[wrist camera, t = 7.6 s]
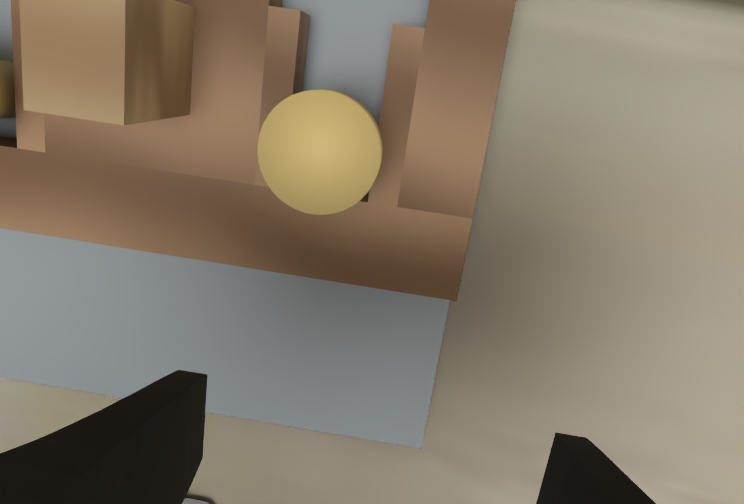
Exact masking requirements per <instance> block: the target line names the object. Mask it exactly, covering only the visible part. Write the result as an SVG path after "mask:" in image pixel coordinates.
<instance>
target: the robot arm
mask: <svg viewBox="0 0 744 504" xmlns="http://www.w3.org/2000/svg"><path fill="white" fill-rule="evenodd" d="M206 391H207V374H202V373H196V372H190V371H184V370H177V371H175V372H173V373H171V374H169V375H167V376H165V377H163V378H161V379H159V380H157V381H155V382H153V383H151V384H150V385H148V386H146V387H144V388H142V389H140V390H138V391H137V392H135V393H133V394H131V395H129V396H127V397H125V398H123V399H121V400H119V401H118V402H116V403H114V404H112V405H110V406H108V407H106V408H104V409H102V410H100V411H98V412H96V413H94V414H92V415H90V416H88V417H85V418H83V419H81V420H79V421H77V422H75V423H73V424H71V425H68V426H66V427H64V428H62V429H60V430H58V431H56V432H54V433H51V434H49V435H47V436H44V437H42V438H39V439H37V440H35V441H32V442H30V443H27V444H25V445H22V446H19V447H17V448H14V449H11V450H9V451H6V452H3V453H1V454H0V504H209V503H208V502H205V501H200V500H195V499H189V498H185V497H186V495H187V492H188V490H189V488H190V486H191V484H192V481H193V479H194V477H195V474H196V472H197V470H198V467H199V465H200V463H201V460H202V456H203V440H204V423H205V407H206ZM536 504H656V503H655V502H654V501H653V500H651V499H650V498H649V497H648V496H647V495H646V494H645V493H644V492H643V491H642V490H641V489H640V488H639V487H638V486H637V485H636V484H635V483H634V482H633V481H632V480H631V479H630V478H629V477H628V476H626V475H625V474H624V473H623V472H622V471H621V470H620V469H619V468H618V467H617V466H616V465H615V464H614V463H613V462H612V461H611V460H610V459H609V458H608V457H607V456H606V455H605V454H604V453H603V452H602V451H601V450H600V449H598V448H597V447H596V446H595V445H594V444H593V443H592V442H591V441H589V440H588V439H587V438H584V437H578V436H572V435H566V434H561V433H556V434H555V437H554V441H553V445H552V448H551V452H550V456H549V459H548V463H547V467H546V470H545V474H544V478H543V481H542V485H541V489H540V492H539V496H538V500H537V503H536Z"/></svg>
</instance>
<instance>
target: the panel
mask: <svg viewBox="0 0 744 504" xmlns="http://www.w3.org/2000/svg"><path fill="white" fill-rule="evenodd" d="M515 2H516V0H429V6H428V13H427V19H426V25H425V28H420V27H413V26H406V25H399V24H393V26H392V33H391V40H390V47H389V55H388V62H387V69H386V76H385V83H384V90H383V97H382V104H381V112H380V119H379V126H378V127H379V130H380V134H381V138H382V144H383V155H382V162H381V166H380V169H379V172H378V174H377V177H376V179H375V181H374V183H373V185H372V187H371V188H370V190H369V193H367V194H366V195H365V196H364V197H363V198H362V199H361V200H360V201H358V202H357V203H356V204H355V205H353V206H351V207H350V208H348V209H346V210H343V211H341V212H337V213H334V214H328V215H315V214H309V213H304V212H301V211H299V210H296V209H294V208H292V207H290V206H289V205H287V204H286V203H284V202H283V201H282V200H280V199H279V198H278V197H277V196H276V195H275V194H274V193H273V192H272V190H271V189H270V188H269V186H268V185H267V183H266V181H265V179H264V177H263V175H262V172H261V170H260V166H259V162H258V154H257V150H258V139H259V134H260V131H261V128H262V126H263V123H264V121H265V120H266V118H267V116H268V115H269V113H270V112H271V111H272V110H273V108H274V107H276V106H277V105H278V104H279V103H280V102H281V101H283V100H284V99H286V98H287V97H289V96H291V95H293V94H296V93H299V92H302V88H303V78H304V68H305V58H306V48H307V38H308V28H309V17H310V15H308V14H306V13H304V12H303V11H301V10H295V9H288V8H281V0H11V19H12V42H13V65H14V88H15V111H16V133H17V139H14V138H7V137H1V136H0V228H2V229H8V230H14V231H20V232H27V233H33V234H39V235H45V236H52V237H58V238H64V239H70V240H77V241H83V242H89V243H95V244H102V245H108V246H114V247H120V248H127V249H133V250H139V251H146V252H152V253H158V254H164V255H171V256H177V257H183V258H189V259H196V260H202V261H208V262H214V263H221V264H227V265H233V266H239V267H246V268H252V269H258V270H264V271H271V272H277V273H283V274H289V275H296V276H302V277H308V278H314V279H321V280H327V281H333V282H339V283H346V284H352V285H358V286H364V287H371V288H377V289H383V290H389V291H396V292H402V293H408V294H414V295H421V296H427V297H433V298H439V299H446V300H452V301H457V296H458V291H459V286H460V281H461V275H462V270H463V265H464V260H465V255H466V250H467V245H468V240H469V235H470V230H471V225H472V220H473V215H474V210H475V205H476V199H477V194H478V189H479V184H480V179H481V174H482V169H483V164H484V159H485V154H486V149H487V144H488V139H489V134H490V129H491V124H492V118H493V113H494V108H495V103H496V98H497V93H498V88H499V83H500V78H501V73H502V68H503V63H504V58H505V53H506V48H507V42H508V37H509V32H510V27H511V22H512V17H513V12H514V7H515Z"/></svg>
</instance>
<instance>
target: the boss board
mask: <svg viewBox="0 0 744 504" xmlns="http://www.w3.org/2000/svg"><path fill="white" fill-rule="evenodd" d="M428 6H429V0H281V8H288V9H295V10H301V11H303V12H304V13H306V14H308V15H310V17H309V28H308V38H307V48H306V58H305V68H304V78H303V88H302V92H299V93H296V94H293V95H291V96H289V97H287V98H286V99H284V100H283V101H281V102H280V103H279V104H278V105H277V106H276V107H274V108H273V110H272V111H271V112H270V113H269V115H268V116H267V118H266V120H265V121H264V123H263V126H262V128H261V131H260V134H259V139H258V150H257V154H258V162H259V166H260V170H261V172H262V175H263V177H264V179H265V181H266V183H267V185H268V186H269V188H270V189H271V190H272V192H273V193H274V194H275V195H276V196H277V197H278V198H279V199H280V200H282V201H283V202H284V203H286V204H287V205H289V206H290V207H292V208H294V209H296V210H299V211H301V212H304V213H309V214H315V215H328V214H334V213H337V212H341V211H343V210H346V209H348V208H350V207H351V206H353V205H355V204H356V203H357V202H358V201H360V200H361V199H362V198H363V197H364V196H365V195H366V194H367V193H369V190H370V188H371V187H372V185H373V183H374V181H375V179H376V177H377V174H378V172H379V169H380V166H381V162H382V155H383V144H382V138H381V134H380V130H379V127H378V126H379V119H380V112H381V104H382V97H383V90H384V83H385V76H386V69H387V62H388V55H389V47H390V40H391V33H392V26H393V24H399V25H406V26H413V27H420V28H425V25H426V19H427V13H428ZM0 136H1V137H7V138H14V139H17V133H16V111H15V88H14V65H13V42H12V19H11V0H0ZM449 303H450V300H446V299H439V298H433V297H427V296H421V295H414V294H408V293H402V292H396V291H389V290H383V289H377V288H371V287H364V286H358V285H352V284H346V283H339V282H333V281H327V280H321V279H314V278H308V277H302V276H296V275H289V274H283V273H277V272H271V271H264V270H258V269H252V268H246V267H239V266H233V265H227V264H221V263H214V262H208V261H202V260H196V259H189V258H183V257H177V256H171V255H164V254H158V253H152V252H146V251H139V250H133V249H127V248H120V247H114V246H108V245H102V244H95V243H89V242H83V241H77V240H70V239H64V238H58V237H52V236H45V235H39V234H33V233H27V232H20V231H14V230H8V229H2V228H0V378H6V379H12V380H18V381H24V382H30V383H36V384H41V385H47V386H53V387H59V388H65V389H71V390H77V391H83V392H89V393H95V394H100V395H106V396H112V397H118V398H125V397H127V396H129V395H131V394H133V393H135V392H137V391H138V390H140V389H142V388H144V387H146V386H148V385H150V384H151V383H153V382H155V381H157V380H159V379H161V378H163V377H165V376H167V375H169V374H171V373H173V372H175V371H177V370H184V371H190V372H196V373H202V374H207V391H206V407H205V412H207V413H213V414H218V415H224V416H230V417H236V418H242V419H248V420H254V421H260V422H266V423H272V424H277V425H283V426H289V427H295V428H301V429H307V430H313V431H319V432H325V433H331V434H336V435H342V436H348V437H354V438H360V439H366V440H372V441H378V442H384V443H390V444H395V445H401V446H407V447H413V448H419V449H421V448H422V443H423V437H424V432H425V427H426V422H427V417H428V412H429V406H430V401H431V396H432V391H433V386H434V381H435V376H436V370H437V365H438V360H439V355H440V350H441V345H442V339H443V334H444V329H445V324H446V319H447V314H448V308H449Z"/></svg>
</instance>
